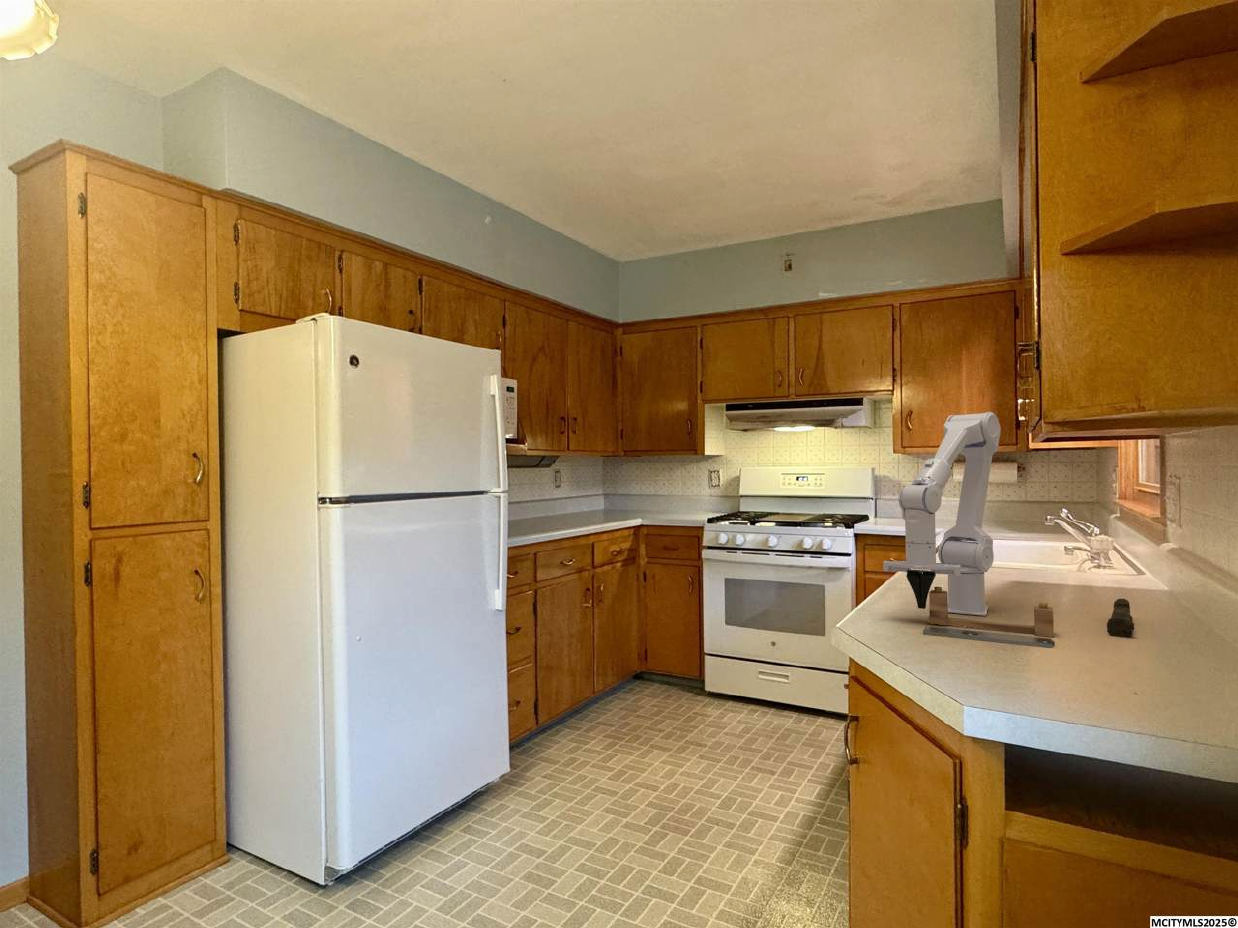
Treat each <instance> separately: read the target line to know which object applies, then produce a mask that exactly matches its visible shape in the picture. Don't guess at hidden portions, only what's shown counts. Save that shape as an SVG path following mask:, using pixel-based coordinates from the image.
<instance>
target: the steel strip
mask: <svg viewBox="0 0 1238 928" xmlns="http://www.w3.org/2000/svg"><path fill="white" fill-rule="evenodd" d="M922 632H923V633H922V634H923V635H927V634H929V635H928V636H936V635H938V636H937V637H945V636H948V637H949V638H955V637H956V638H958V639H964V638H965V639H966V640H973V641H974V640H975V641H976V640H977V641H985V642H993V643H995V642H996V643H1002V644H1011V645H1013V644H1014V645H1020V646H1021V645H1022V646H1031V647H1041V648H1051V649H1053V647H1055V644H1056V643H1055V640H1053V639H1052V638H1051V637H1041V636H1030V635H1019V634H1009V633H1007V634H1006V633H1000V632H999V633H998V632H989V631H977V630H970V629H969V630H968V629H958V628H949V627H940V626H939V627H938V626H930V625H929V626H928V625H925V627H924V628H923V631H922ZM948 637H947V638H948ZM956 638H955V639H956Z"/></svg>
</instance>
